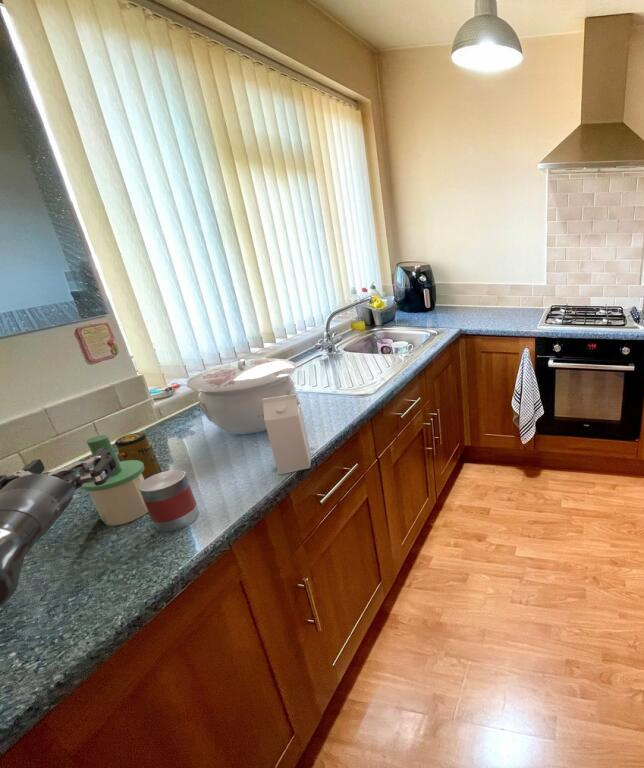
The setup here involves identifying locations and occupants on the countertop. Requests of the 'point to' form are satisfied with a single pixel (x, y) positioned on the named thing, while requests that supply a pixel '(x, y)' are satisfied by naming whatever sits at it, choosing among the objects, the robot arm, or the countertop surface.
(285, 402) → the milk carton
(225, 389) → the chamber pot
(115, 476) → the lid
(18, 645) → the countertop surface
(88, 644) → the countertop surface
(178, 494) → the tin
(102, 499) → the cup
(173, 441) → the countertop surface
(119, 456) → the condiment
